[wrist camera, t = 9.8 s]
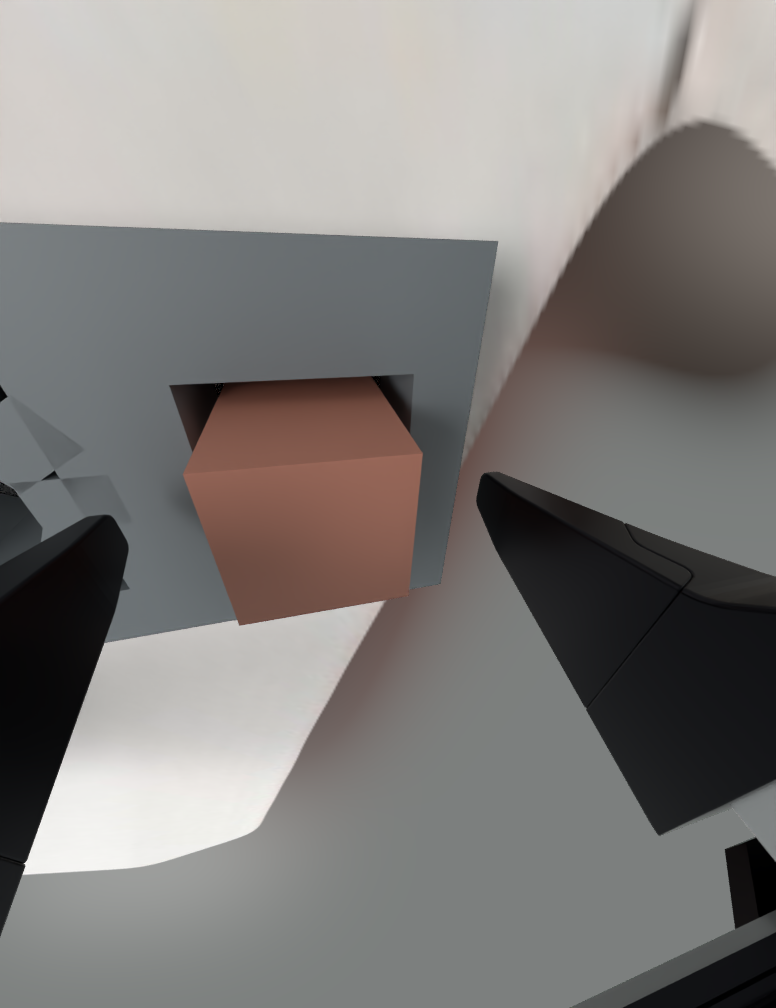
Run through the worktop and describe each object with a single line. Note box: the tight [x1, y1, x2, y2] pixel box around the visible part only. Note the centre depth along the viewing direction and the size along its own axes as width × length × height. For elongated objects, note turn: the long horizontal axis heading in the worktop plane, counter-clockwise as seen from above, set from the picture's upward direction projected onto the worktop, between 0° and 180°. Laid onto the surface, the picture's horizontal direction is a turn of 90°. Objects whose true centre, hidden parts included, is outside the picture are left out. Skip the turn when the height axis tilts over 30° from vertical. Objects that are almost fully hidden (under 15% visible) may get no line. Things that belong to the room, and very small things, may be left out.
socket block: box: [0, 223, 498, 643], centre depth 10 cm, size 11×18×4 cm, turn 89°
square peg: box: [183, 376, 423, 626], centre depth 10 cm, size 4×4×7 cm
